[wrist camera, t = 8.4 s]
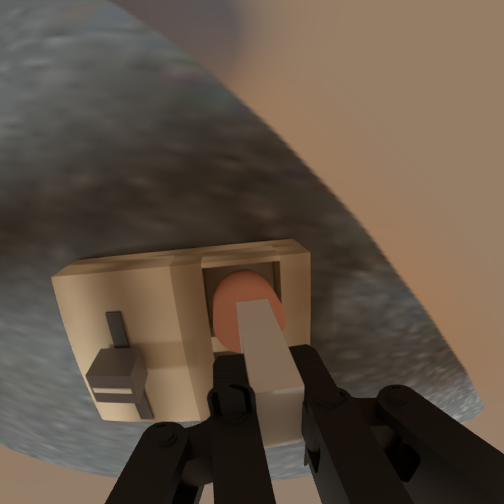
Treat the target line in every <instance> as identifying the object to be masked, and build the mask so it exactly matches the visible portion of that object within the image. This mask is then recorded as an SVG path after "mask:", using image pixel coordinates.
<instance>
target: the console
mask: <svg viewBox="0 0 504 504" xmlns="http://www.w3.org/2000/svg"><path fill="white" fill-rule="evenodd" d="M237 270H252V271H255V272H258V273H260V274H261V275H263V276H264V277H265V278H266V279H267V280H268V281H269V282H270V284H271V286H272V288H273V290H274V292H275V293H276V295H277V297H278V299H279V301H280V303H281V305H282V307H283V309H284V311H285V316H286V324H285V328H284V331H283V333H282V334H283V336H284V339H285V341H286V343H287V346H288V347H290V346H297V345H303V344H308V345H310V326H311V262H310V252H309V251H308V250H307V249H305V248H304V247H303V246H302V245H300V244H299V243H298V242H297V241H295V240H294V239H283V240H272V241H262V242H251V243H240V244H230V245H219V246H209V247H199V248H189V249H179V250H169V251H159V252H149V253H139V254H130V255H120V256H111V257H101V258H92V259H83V260H75V261H74V262H72V263H71V264H69V265H68V266H66V267H65V268H63V269H62V270H60V271H59V272H58V273H56V274H55V275H53V276H52V277H51V280H52V284H53V288H54V292H55V295H56V299H57V303H58V306H59V310H60V313H61V317H62V320H63V323H64V326H65V329H66V332H67V335H68V338H69V341H70V344H71V347H72V350H73V352H74V355H75V358H76V360H77V363H78V365H79V368H80V370H81V373H82V375H83V378H84V380H85V383H86V385H87V387H88V389H89V392H90V394H91V396H92V398H93V400H94V403H95V405H96V407H97V409H98V411H99V413H100V415H101V417H102V419H103V420H111V421H131V422H163V421H167V422H184V421H204V420H207V418H208V417H209V416H210V411H209V407H208V402H207V395H208V392H209V391H210V390H211V389H212V388H213V363H214V361H215V360H216V358H217V357H218V356H223V355H233V354H241V353H237V352H234V351H231V350H229V349H227V348H226V347H225V346H223V345H222V344H221V343H220V341H219V340H218V339H217V337H216V335H215V332H214V328H213V294H214V290H215V287H216V286H217V284H218V282H219V281H220V280H221V279H222V278H223V277H224V276H226V275H227V274H229V273H231V272H233V271H237ZM106 348H141V351H142V354H143V358H144V361H145V365H146V368H147V371H148V376H147V379H146V383H145V386H144V390H143V394H142V397H141V401H140V404H136V403H106V402H97V401H96V399H95V397H94V395H93V393H92V390H91V388H90V386H89V383H88V381H87V379H86V376H85V375H86V373H87V372H88V370H89V368H90V366H91V364H92V363H93V361H94V359H95V357H96V356H97V354H98V352H99V351H100V349H106Z"/></svg>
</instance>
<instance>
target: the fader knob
mask: <svg viewBox="0 0 504 504" xmlns="http://www.w3.org/2000/svg"><path fill="white" fill-rule="evenodd" d="M85 376H86V379H87V381H88V383H89V386H90V388H91V390H92V393H93V395H94V397H95V399H96V401H97V402H106V403H136V404H140V401H141V397H142V394H143V390H144V386H145V383H146V379H147V376H148V371H147V368H146V365H145V361H144V358H143V354H142V351H141V348H106V349H100V351H99V352H98V354H97V356H96V357H95V359H94V361H93V363H92V364H91V366H90V368H89V370H88V372H87V373H86V375H85Z"/></svg>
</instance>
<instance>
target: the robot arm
mask: <svg viewBox="0 0 504 504" xmlns="http://www.w3.org/2000/svg"><path fill="white" fill-rule="evenodd" d="M236 307H237V317H238V327H239V337H240V347H241V354H233V355H223V356H218V357H217V358H216V360H215V361H214V363H213V388H212V389H211V390H210V391H209V392H208V395H207V402H208V407H209V411H210V416H209V417H208V418H207V420H205V421H203V422H202V423H200V424H197V425H195V426H191V427H188V428H184V427H183V426H181V425H180V424H178V423H175V422H167V421H163V422H159V423H155V424H153V425H152V426H150V427H148V428H147V429H146V431H145V432H144V433H143V435H142V437H141V438H140V440H139V442H138V444H137V446H136V447H135V449H134V451H133V453H132V455H131V457H130V458H129V460H128V462H127V464H126V466H125V467H124V469H123V471H122V473H121V475H120V477H119V478H118V480H117V482H116V484H115V486H114V488H113V490H112V491H111V493H110V495H109V497H108V499H107V500H106V502H105V504H199V501H200V498H201V495H202V492H203V488H204V485H205V484H209V483H212V482H213V489H214V504H276V501H275V497H274V493H273V488H272V483H271V478H270V474H269V469H268V464H267V460H266V455H265V450H264V449H265V448H272V447H278V446H284V445H290V444H295V443H301V442H302V435H303V438H304V441H305V455H304V466H306V465H307V464H309V467H310V470H311V473H312V476H313V479H314V481H315V484H316V487H317V490H318V493H319V496H320V499H321V502H322V504H504V454H503V453H502V452H500V451H499V450H497V449H496V448H494V447H493V446H491V445H490V444H488V443H487V442H486V441H484V440H483V439H481V438H480V437H479V436H477V435H476V434H474V433H473V432H471V431H470V430H469V429H467V428H466V427H464V426H463V425H462V424H460V423H459V422H457V421H456V420H455V419H453V418H452V417H450V416H449V415H448V414H446V413H445V412H443V411H442V410H441V409H439V408H438V407H436V406H435V405H434V404H432V403H431V402H429V401H428V400H427V399H425V398H424V397H422V396H421V395H420V394H418V393H417V392H415V391H414V390H413V389H411V388H409V387H407V386H404V385H399V384H398V385H389V386H386V387H384V388H383V389H381V390H380V391H379V393H378V395H377V398H355V397H351V395H350V394H349V393H348V392H347V391H346V390H343V389H341V388H338V387H337V386H336V384H335V382H334V381H333V379H332V377H331V375H330V374H329V372H328V370H327V368H326V367H325V365H324V363H323V361H322V360H321V359H320V356H319V354H318V353H317V351H316V349H314V348H313V347H311V346H310V345H308V344H303V345H297V346H290V347H288V346H287V343H286V341H285V339H284V336H283V334H282V332H281V329H280V327H279V325H278V322H277V320H276V318H275V315H274V313H273V310H272V308H271V306H270V303H269V301H268V299H260V300H251V301H241V302H236Z"/></svg>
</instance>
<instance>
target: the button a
mask: <svg viewBox="0 0 504 504" xmlns="http://www.w3.org/2000/svg"><path fill="white" fill-rule="evenodd" d="M260 299H268V301H269V303H270V306H271V308H272V310H273V313H274V315H275V318H276V320H277V322H278V325H279V327H280V329H281V332H282V333H283V331H284V328H285V324H286V316H285V311H284V309H283V307H282V305H281V303H280V301H279V299H278V297H277V295H276V293H275V292H274V290H273V288H272V286H271V284H270V282H269V281H268V280H267V279H266V278H265V277H264V276H263V275H261V274H260V273H258V272H255V271H252V270H237V271H233V272H231V273H229V274H227V275H226V276H224V277H223V278H222V279H221V280H220V281H219V282H218V284H217V286H216V287H215V290H214V294H213V328H214V332H215V335H216V337H217V339H218V340H219V341H220V343H221V344H222V345H223V346H225V347H226V348H227V349H229V350H231V351H234V352H237V353H241V347H240V337H239V327H238V317H237V307H236V302H241V301H251V300H260Z"/></svg>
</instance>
